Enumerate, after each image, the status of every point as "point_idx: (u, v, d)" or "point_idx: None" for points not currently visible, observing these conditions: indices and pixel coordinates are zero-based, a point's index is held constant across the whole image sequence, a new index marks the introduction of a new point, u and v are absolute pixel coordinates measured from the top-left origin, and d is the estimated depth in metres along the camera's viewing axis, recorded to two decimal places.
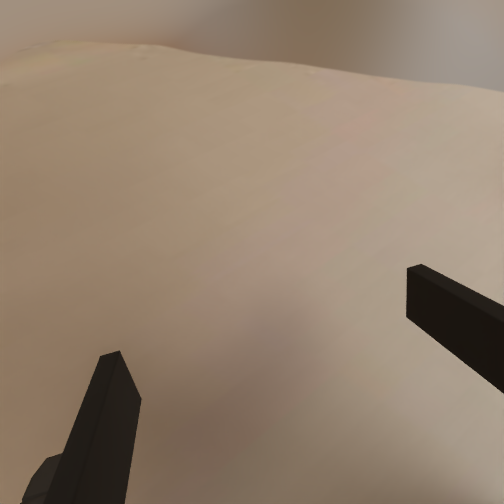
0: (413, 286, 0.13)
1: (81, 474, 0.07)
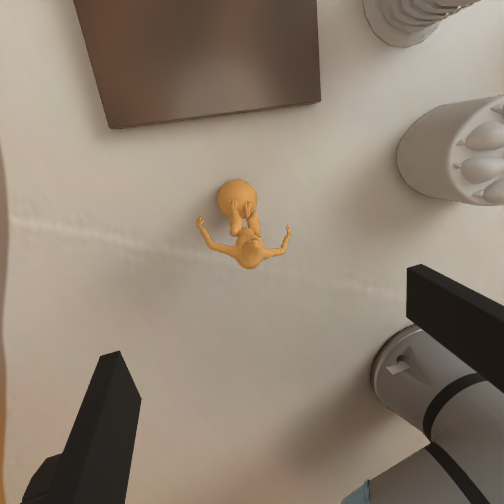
0: (413, 286, 0.13)
1: (81, 474, 0.07)
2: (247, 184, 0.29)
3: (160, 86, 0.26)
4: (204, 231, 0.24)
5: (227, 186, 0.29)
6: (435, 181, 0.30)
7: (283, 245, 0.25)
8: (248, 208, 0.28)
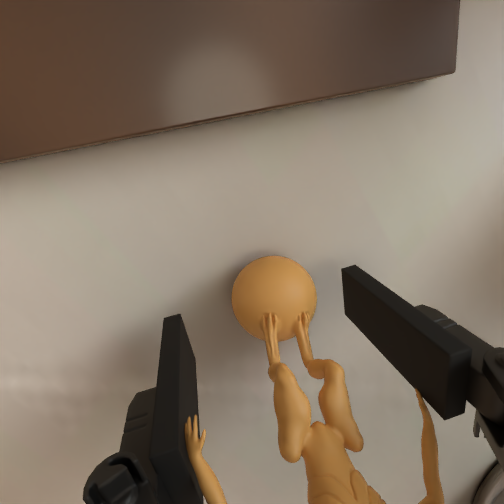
0: (346, 285, 0.14)
1: (178, 396, 0.09)
2: (297, 271, 0.13)
3: (68, 53, 0.10)
4: (211, 489, 0.08)
5: (253, 280, 0.13)
6: None
7: (434, 484, 0.09)
8: (305, 330, 0.12)
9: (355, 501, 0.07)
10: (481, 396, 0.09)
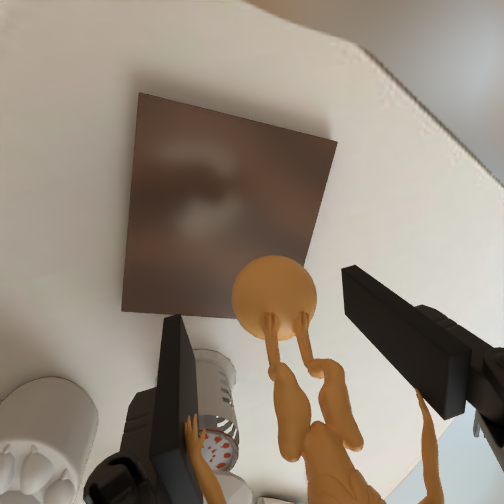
0: (346, 285, 0.14)
1: (178, 396, 0.09)
2: (297, 270, 0.13)
3: (167, 164, 0.26)
4: (210, 488, 0.08)
5: (253, 279, 0.13)
6: None
7: (435, 484, 0.09)
8: (305, 330, 0.12)
9: (355, 501, 0.07)
10: (481, 396, 0.09)
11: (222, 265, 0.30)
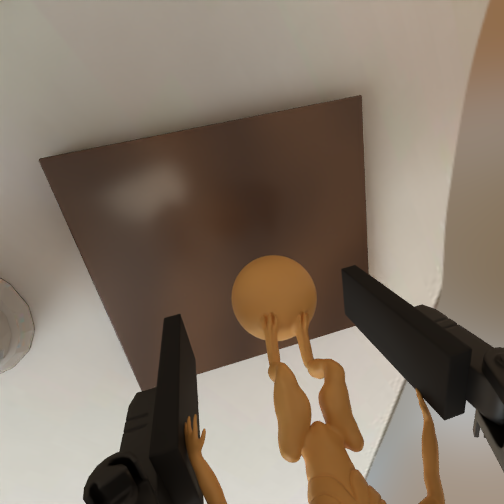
0: (346, 285, 0.14)
1: (178, 396, 0.09)
2: (297, 270, 0.13)
3: (293, 155, 0.20)
4: (210, 489, 0.08)
5: (253, 280, 0.13)
6: None
7: (435, 484, 0.09)
8: (305, 330, 0.12)
9: (355, 501, 0.07)
10: (481, 396, 0.09)
11: (188, 274, 0.21)
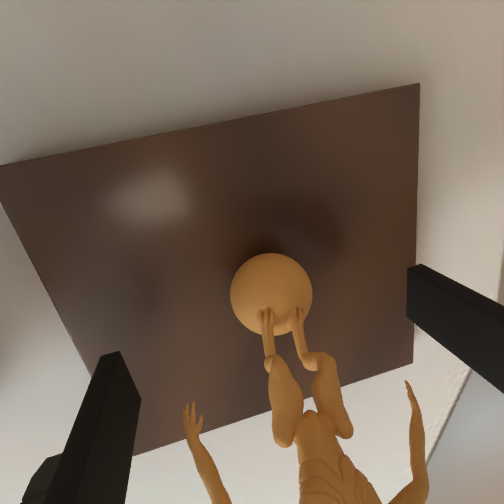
0: (413, 286, 0.13)
1: (81, 474, 0.07)
2: (293, 267, 0.13)
3: (329, 162, 0.15)
4: (207, 470, 0.08)
5: (251, 276, 0.13)
6: None
7: (420, 469, 0.09)
8: (300, 325, 0.13)
9: (342, 482, 0.08)
10: None
11: (191, 315, 0.16)
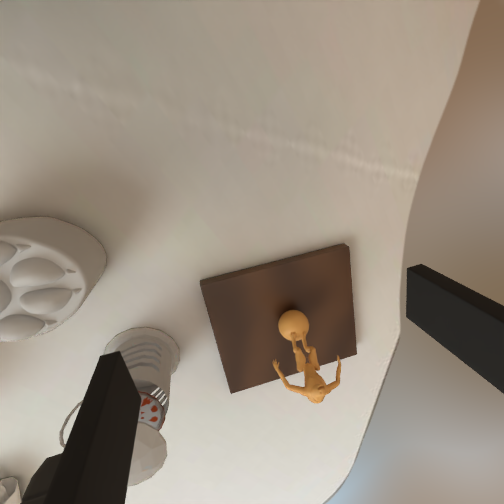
0: (413, 286, 0.13)
1: (81, 474, 0.07)
2: (302, 316, 0.38)
3: (315, 275, 0.40)
4: (281, 374, 0.33)
5: (287, 320, 0.38)
6: (73, 246, 0.29)
7: (337, 378, 0.34)
8: (304, 337, 0.37)
9: (315, 376, 0.32)
10: None
11: (260, 332, 0.41)
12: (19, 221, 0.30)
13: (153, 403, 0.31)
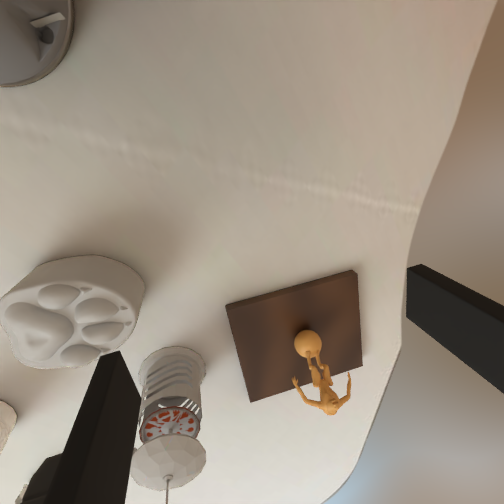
0: (413, 286, 0.13)
1: (81, 474, 0.07)
2: (315, 336, 0.43)
3: (327, 298, 0.44)
4: (300, 390, 0.38)
5: (303, 340, 0.42)
6: (123, 285, 0.33)
7: (348, 392, 0.39)
8: (318, 355, 0.42)
9: (329, 392, 0.37)
10: None
11: (278, 349, 0.46)
12: (74, 262, 0.34)
13: (190, 416, 0.36)
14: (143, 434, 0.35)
